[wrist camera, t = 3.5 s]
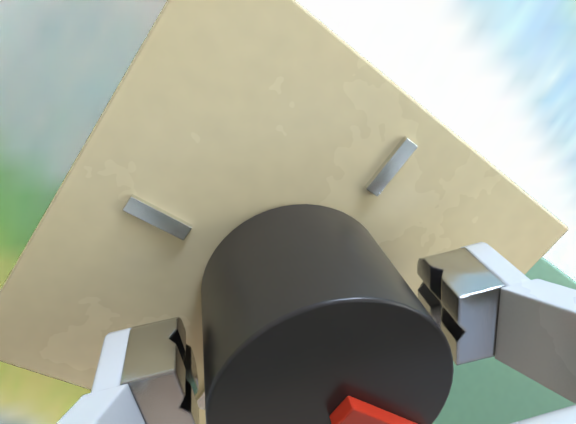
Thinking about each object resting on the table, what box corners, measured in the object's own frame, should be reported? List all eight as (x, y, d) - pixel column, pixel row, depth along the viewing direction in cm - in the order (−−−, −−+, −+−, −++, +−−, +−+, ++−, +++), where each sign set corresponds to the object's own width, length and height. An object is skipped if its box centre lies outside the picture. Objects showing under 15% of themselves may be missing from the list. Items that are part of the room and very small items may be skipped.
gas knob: (164, 317, 10) (152, 471, 7) (273, 166, 9) (319, 264, 6) (310, 377, 12) (355, 523, 9) (416, 256, 11) (513, 371, 8)
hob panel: (12, 275, 13) (-39, 356, 10) (204, -56, 10) (209, -74, 7) (314, 394, 17) (339, 473, 14) (500, 185, 14) (575, 232, 12)
